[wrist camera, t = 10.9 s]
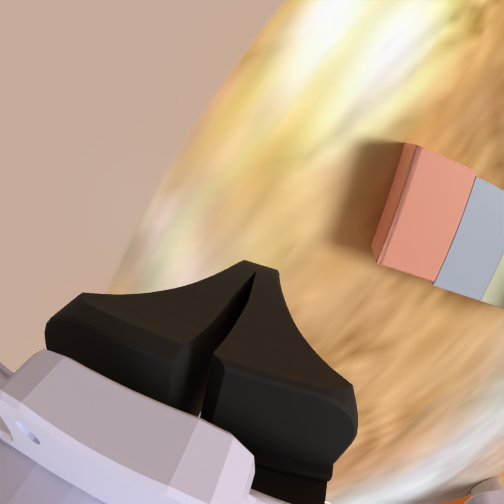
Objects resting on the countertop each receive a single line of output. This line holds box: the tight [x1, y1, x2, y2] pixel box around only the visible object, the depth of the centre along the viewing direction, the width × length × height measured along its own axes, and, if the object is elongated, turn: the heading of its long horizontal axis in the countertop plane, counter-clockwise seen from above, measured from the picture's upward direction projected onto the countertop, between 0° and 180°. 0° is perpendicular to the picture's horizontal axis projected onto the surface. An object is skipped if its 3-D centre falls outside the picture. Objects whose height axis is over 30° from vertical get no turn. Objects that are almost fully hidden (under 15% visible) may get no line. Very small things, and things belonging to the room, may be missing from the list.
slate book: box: [432, 176, 504, 301], centre depth 17 cm, size 7×4×3 cm, turn 167°
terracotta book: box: [371, 143, 477, 281], centre depth 17 cm, size 7×4×3 cm, turn 167°
